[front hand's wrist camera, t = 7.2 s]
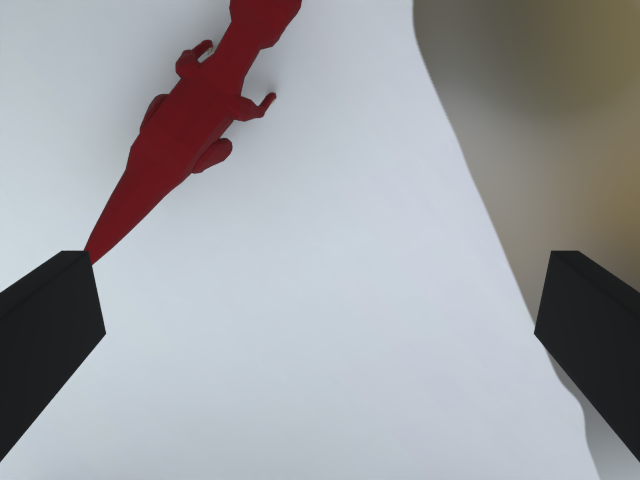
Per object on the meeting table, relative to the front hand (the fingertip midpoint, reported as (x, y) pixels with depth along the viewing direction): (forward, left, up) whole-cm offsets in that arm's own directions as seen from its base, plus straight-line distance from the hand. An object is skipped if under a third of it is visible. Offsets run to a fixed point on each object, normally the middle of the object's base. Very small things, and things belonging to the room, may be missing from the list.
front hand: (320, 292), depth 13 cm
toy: (-5, -8, -28) cm, 29 cm away
